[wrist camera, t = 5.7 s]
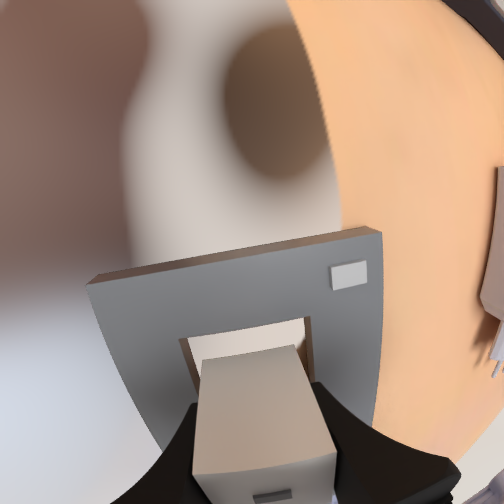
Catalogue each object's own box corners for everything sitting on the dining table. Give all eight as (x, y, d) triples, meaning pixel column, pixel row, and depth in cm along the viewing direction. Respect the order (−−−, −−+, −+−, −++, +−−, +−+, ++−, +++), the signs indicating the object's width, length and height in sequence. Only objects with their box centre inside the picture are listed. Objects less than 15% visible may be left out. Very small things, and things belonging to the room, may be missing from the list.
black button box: (564, 103, 9) (445, -46, 5) (529, 104, 13) (409, -21, 10) (551, 26, 7) (443, -89, 3) (524, 31, 11) (418, -70, 7)
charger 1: (293, 344, 12) (338, 455, 6) (300, 406, 13) (332, 505, 7) (202, 360, 12) (191, 478, 6) (222, 419, 13) (225, 522, 7)
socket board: (366, 226, 13) (385, 233, 11) (353, 475, 18) (359, 490, 17) (98, 274, 12) (82, 287, 11) (208, 501, 18) (208, 516, 16)
